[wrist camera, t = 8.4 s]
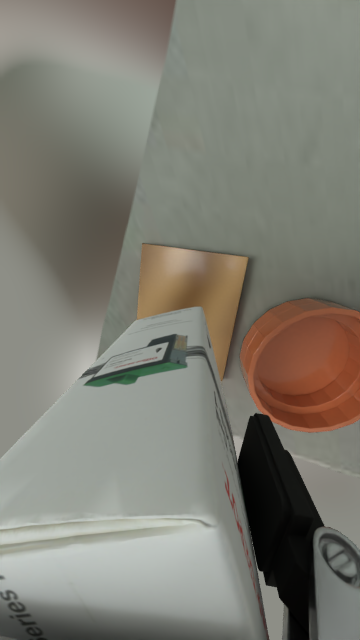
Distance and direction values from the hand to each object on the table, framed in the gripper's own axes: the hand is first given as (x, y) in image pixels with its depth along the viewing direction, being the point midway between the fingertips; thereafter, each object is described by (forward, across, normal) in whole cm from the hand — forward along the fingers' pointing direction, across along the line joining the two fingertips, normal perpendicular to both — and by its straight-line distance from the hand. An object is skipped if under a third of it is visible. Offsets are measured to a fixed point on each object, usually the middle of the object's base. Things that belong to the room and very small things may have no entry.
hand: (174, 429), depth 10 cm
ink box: (+6, 0, 0) cm, 6 cm away
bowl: (+18, -15, +3) cm, 24 cm away
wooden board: (+18, 0, 0) cm, 18 cm away
